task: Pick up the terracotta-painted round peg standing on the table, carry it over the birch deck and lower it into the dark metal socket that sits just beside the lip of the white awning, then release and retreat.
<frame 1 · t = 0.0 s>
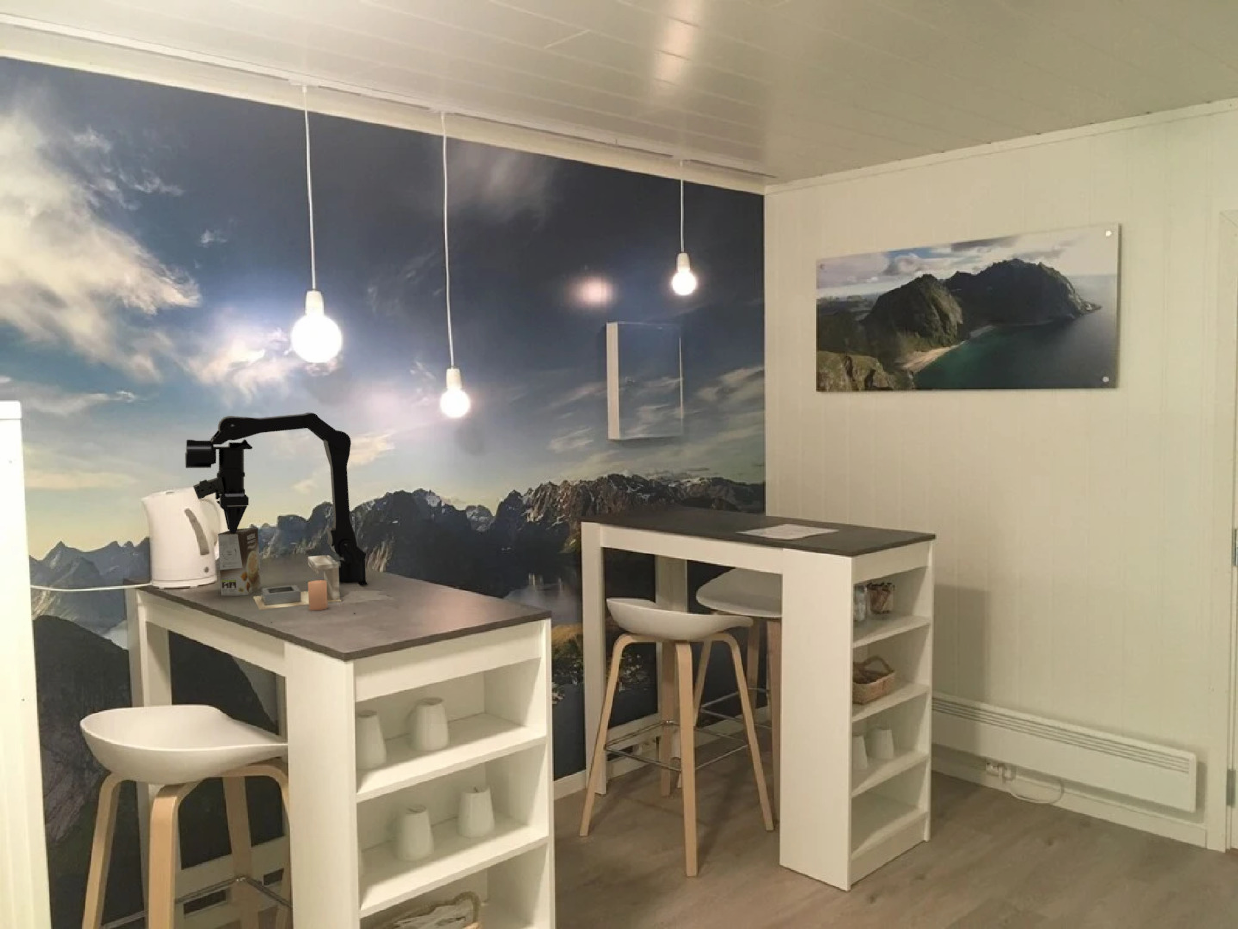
hand: (231, 531, 238), 16 cm above the table, tool pointing down, fingers closed on coffee box, 7 cm apart
peg: (318, 612, 221), on the table
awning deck: (296, 602, 231), on the table
socket: (281, 600, 230), resting on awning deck
coffee box: (241, 596, 240), on the table, touching gripper
when the fingers open (16 cm above the table, at t = 0.3 s): coffee box moves 3 cm, resting on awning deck.
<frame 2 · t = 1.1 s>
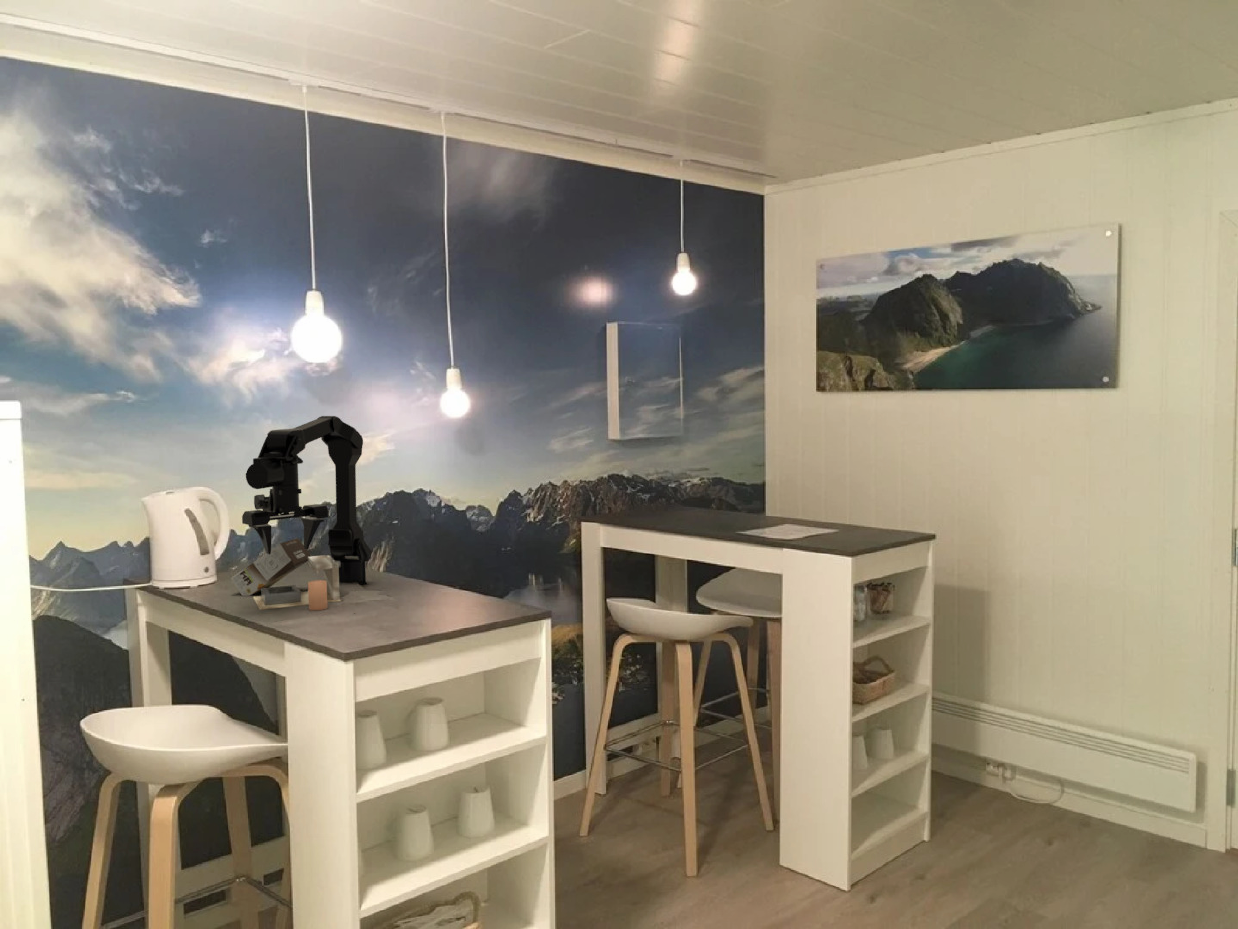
hand: (287, 551, 226), 13 cm above the table, tool pointing down, fingers open, 9 cm apart
coffee box: (246, 585, 240), point 2 cm above the table, touching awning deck
everything else where it was.
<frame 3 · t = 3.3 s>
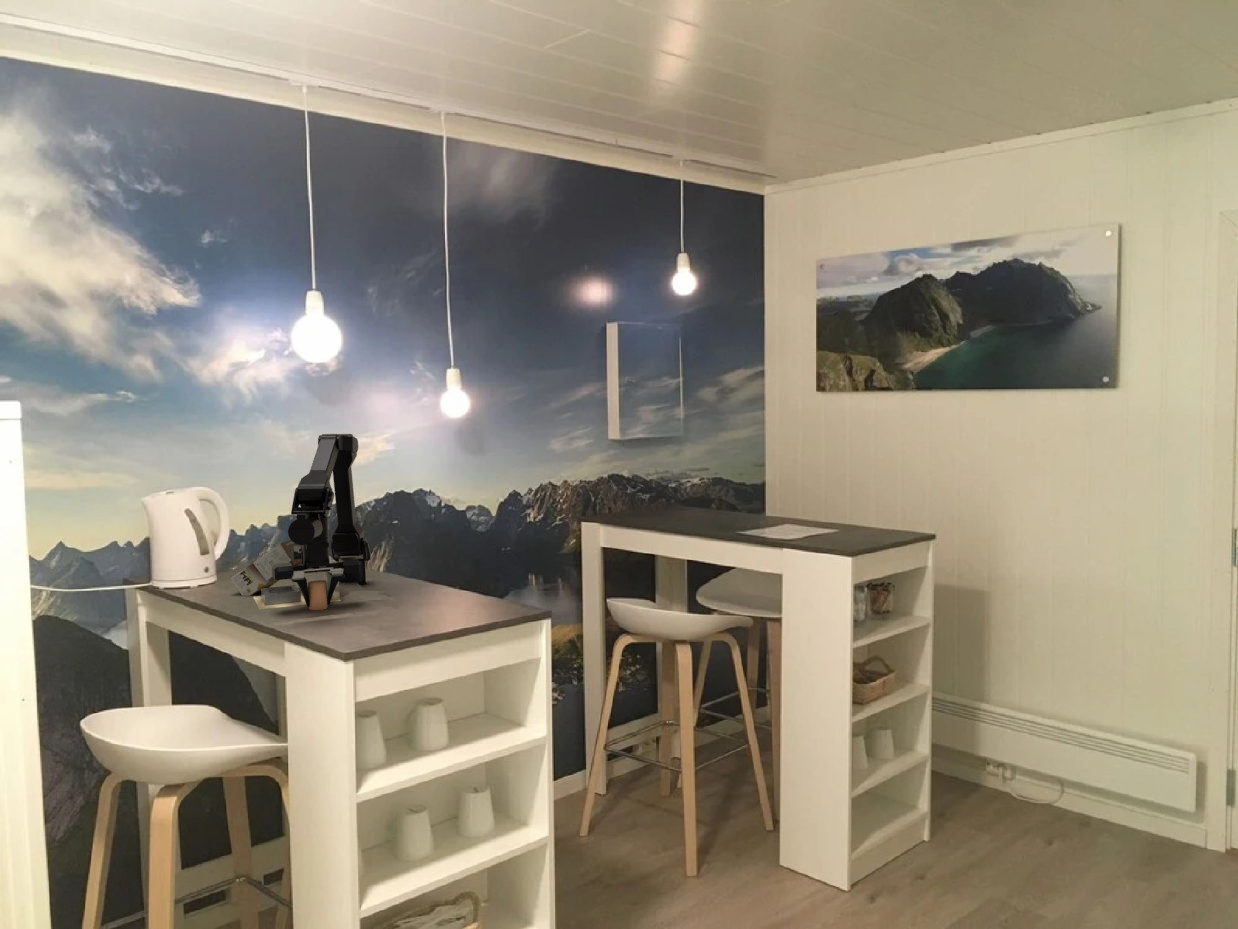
hand: (318, 605, 221), 2 cm above the table, tool pointing down, fingers closed on peg, 4 cm apart
peg: (318, 612, 221), on the table, touching gripper
everything else where it was.
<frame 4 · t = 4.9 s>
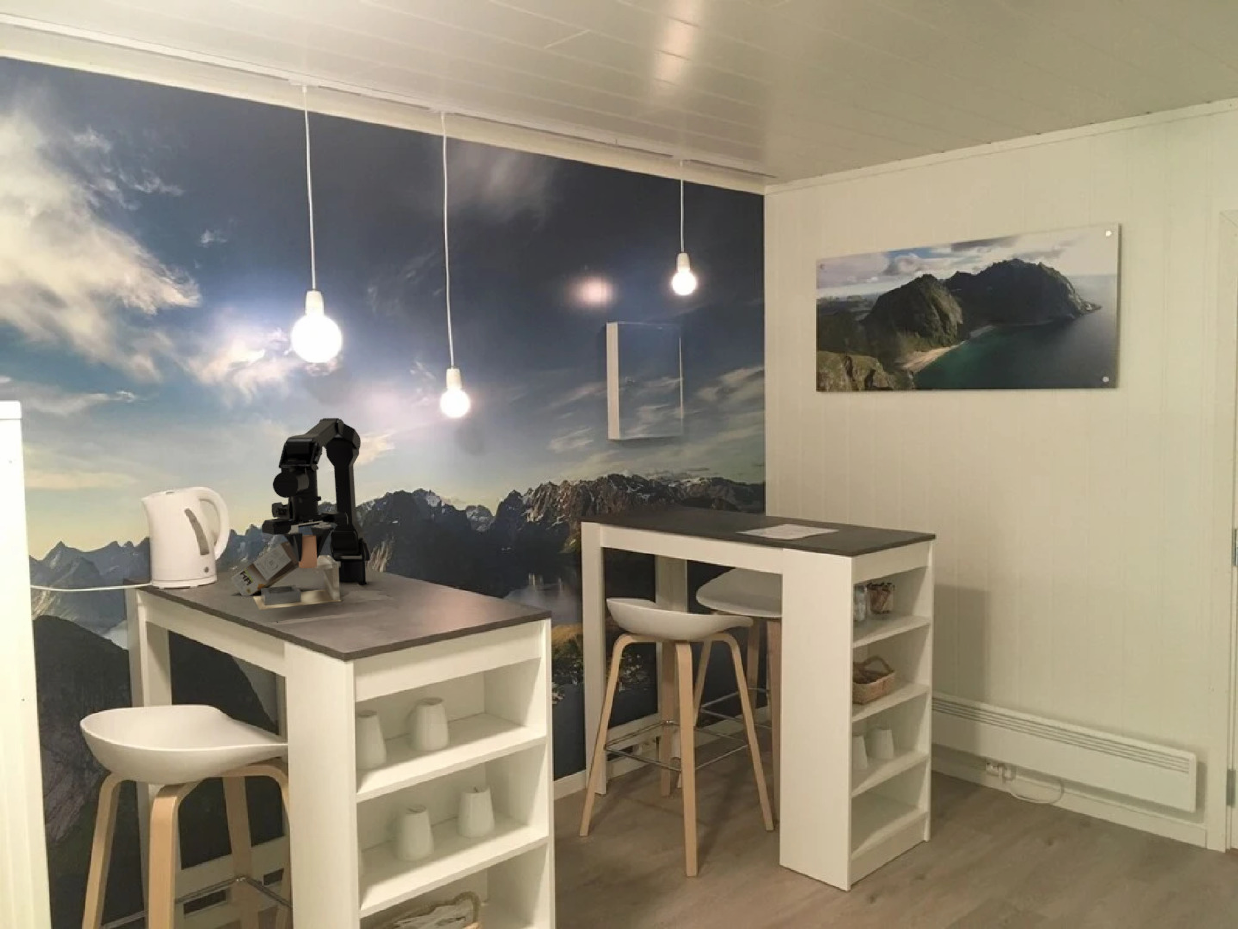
hand: (307, 559, 223), 12 cm above the table, tool pointing down, fingers closed on peg, 4 cm apart
peg: (308, 566, 223), point 10 cm above the table, touching gripper
everything else where it was.
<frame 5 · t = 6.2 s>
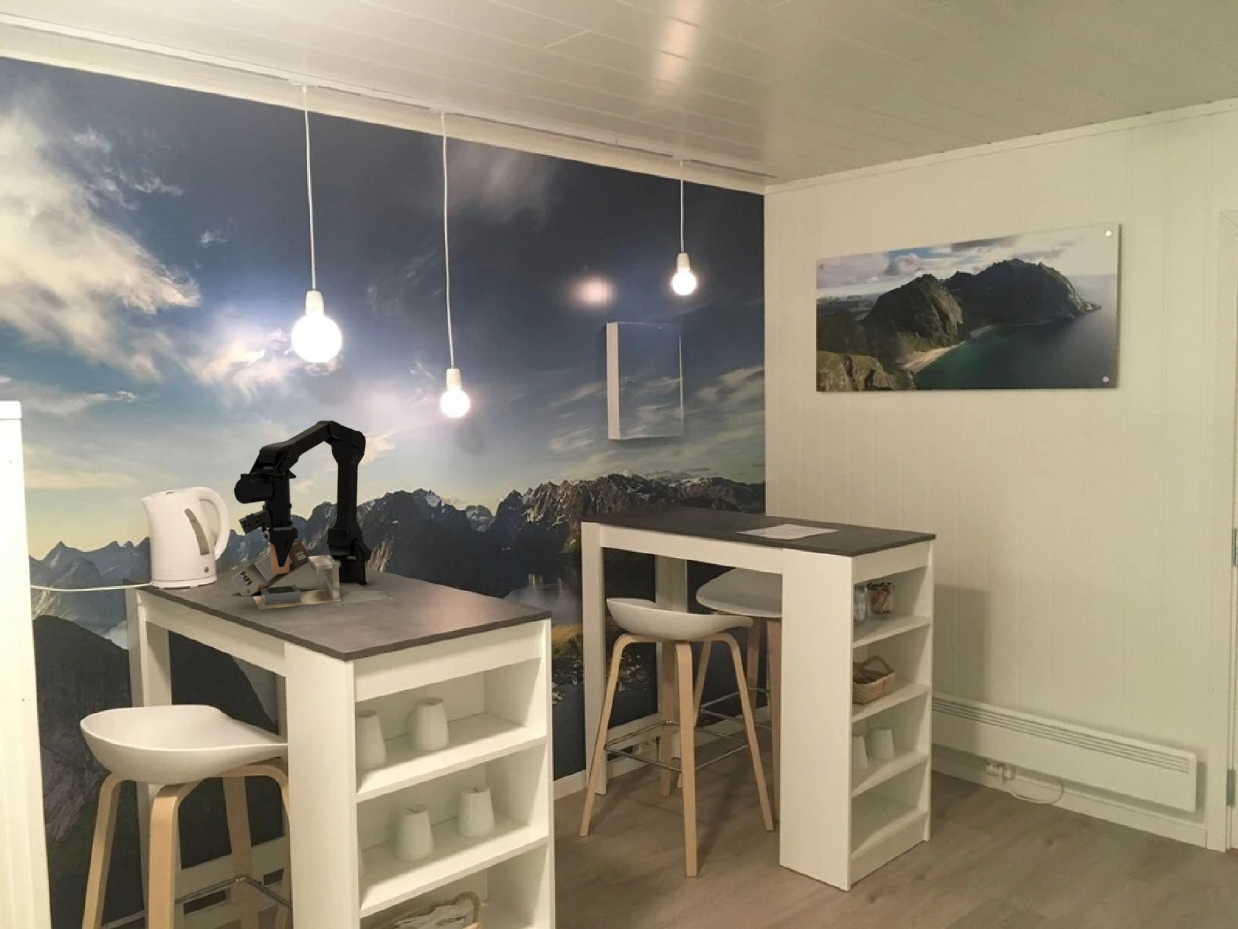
hand: (280, 565, 229), 9 cm above the table, tool pointing down, fingers closed on peg, 4 cm apart
peg: (280, 572, 229), point 8 cm above the table, touching gripper
coffee box: (245, 585, 240), point 2 cm above the table, touching gripper
when the fingers open (4 cm above the table, at t = 7.3 s): peg stays where it is, point 2 cm above the table.
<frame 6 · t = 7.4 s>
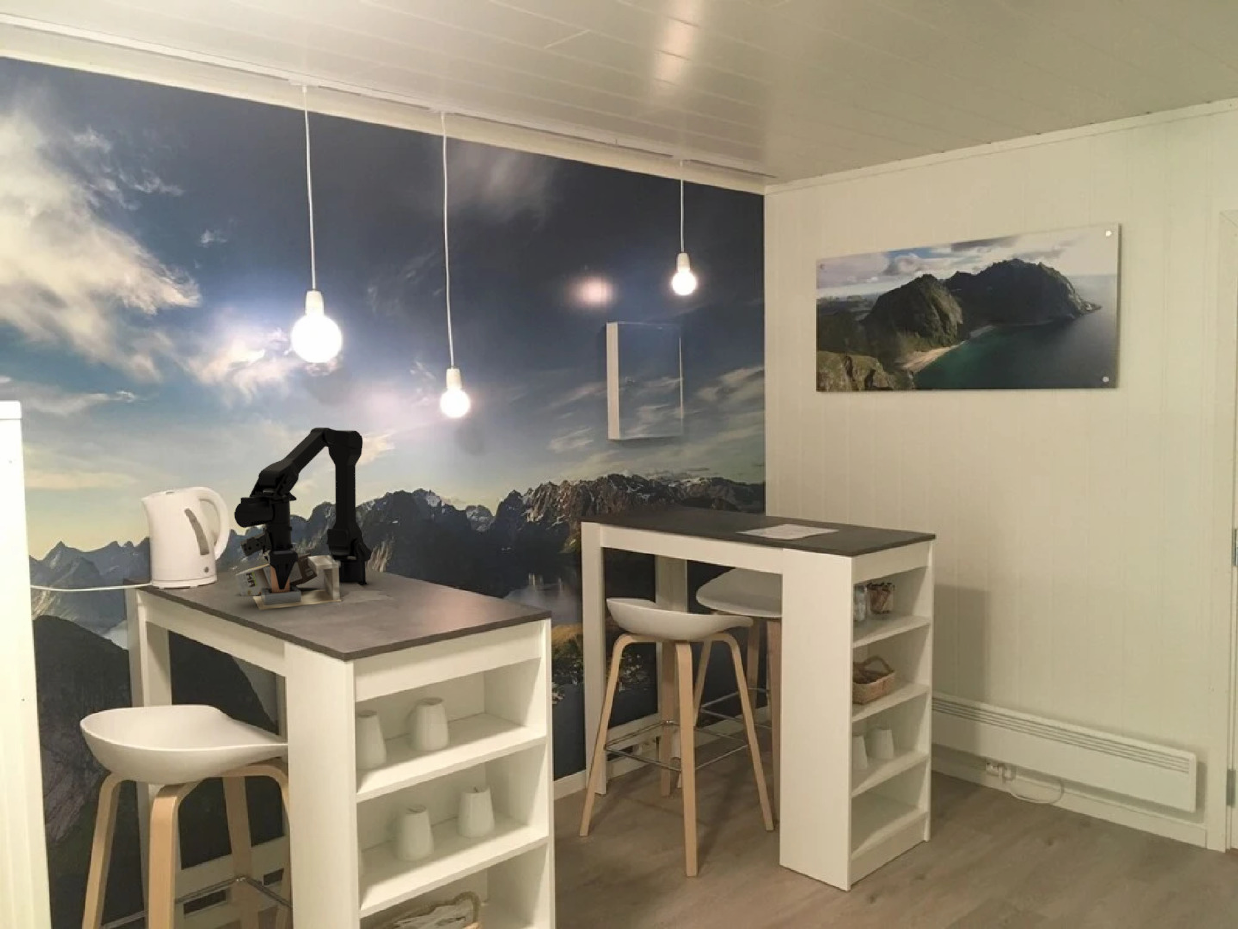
hand: (280, 587, 229), 4 cm above the table, tool pointing down, fingers open, 4 cm apart
peg: (280, 594, 230), point 2 cm above the table
coffee box: (245, 583, 240), point 3 cm above the table
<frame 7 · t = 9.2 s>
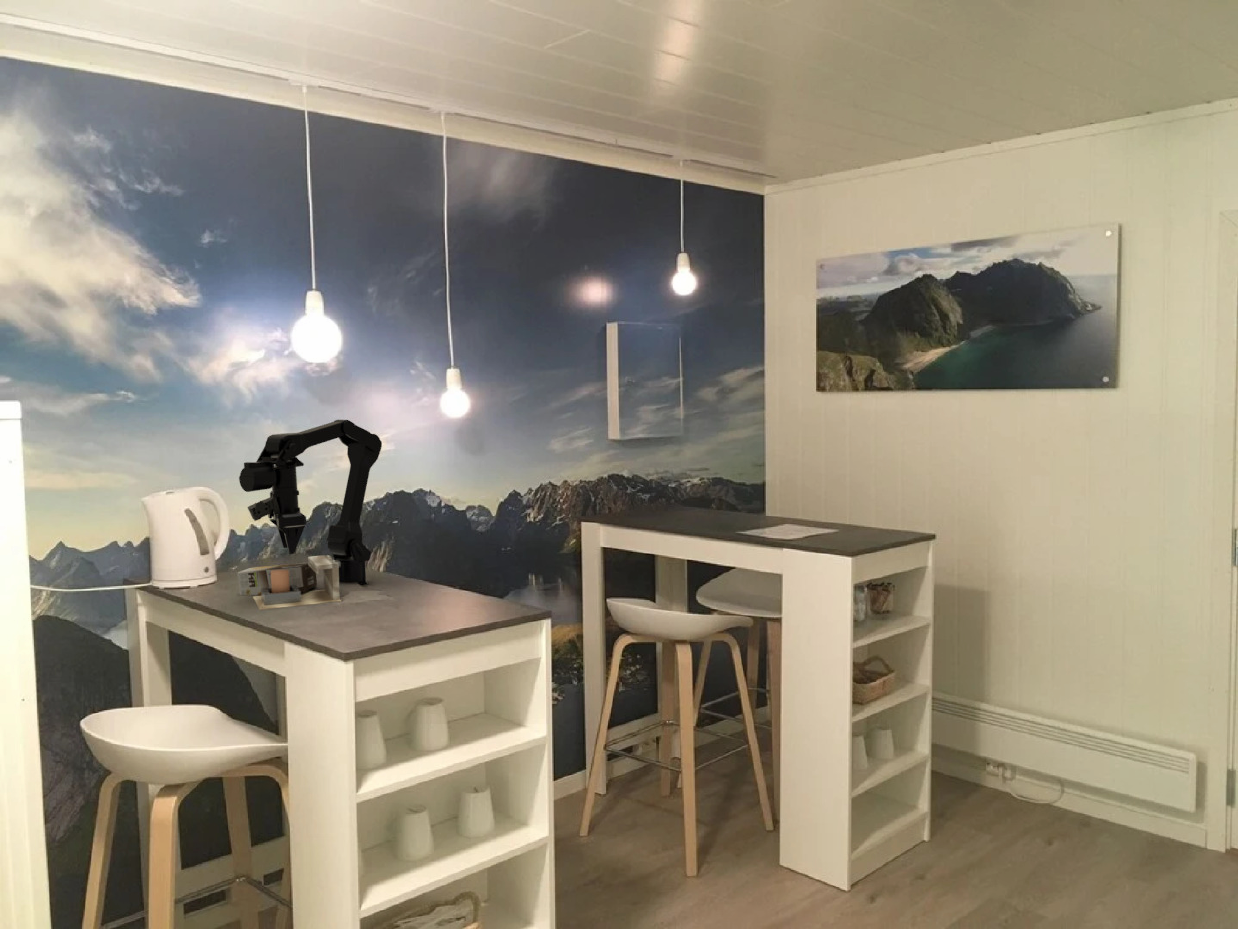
hand: (288, 550, 236), 12 cm above the table, tool pointing down, fingers open, 9 cm apart
peg: (281, 600, 230), point 1 cm above the table, touching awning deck
coffee box: (245, 582, 240), point 3 cm above the table, touching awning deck
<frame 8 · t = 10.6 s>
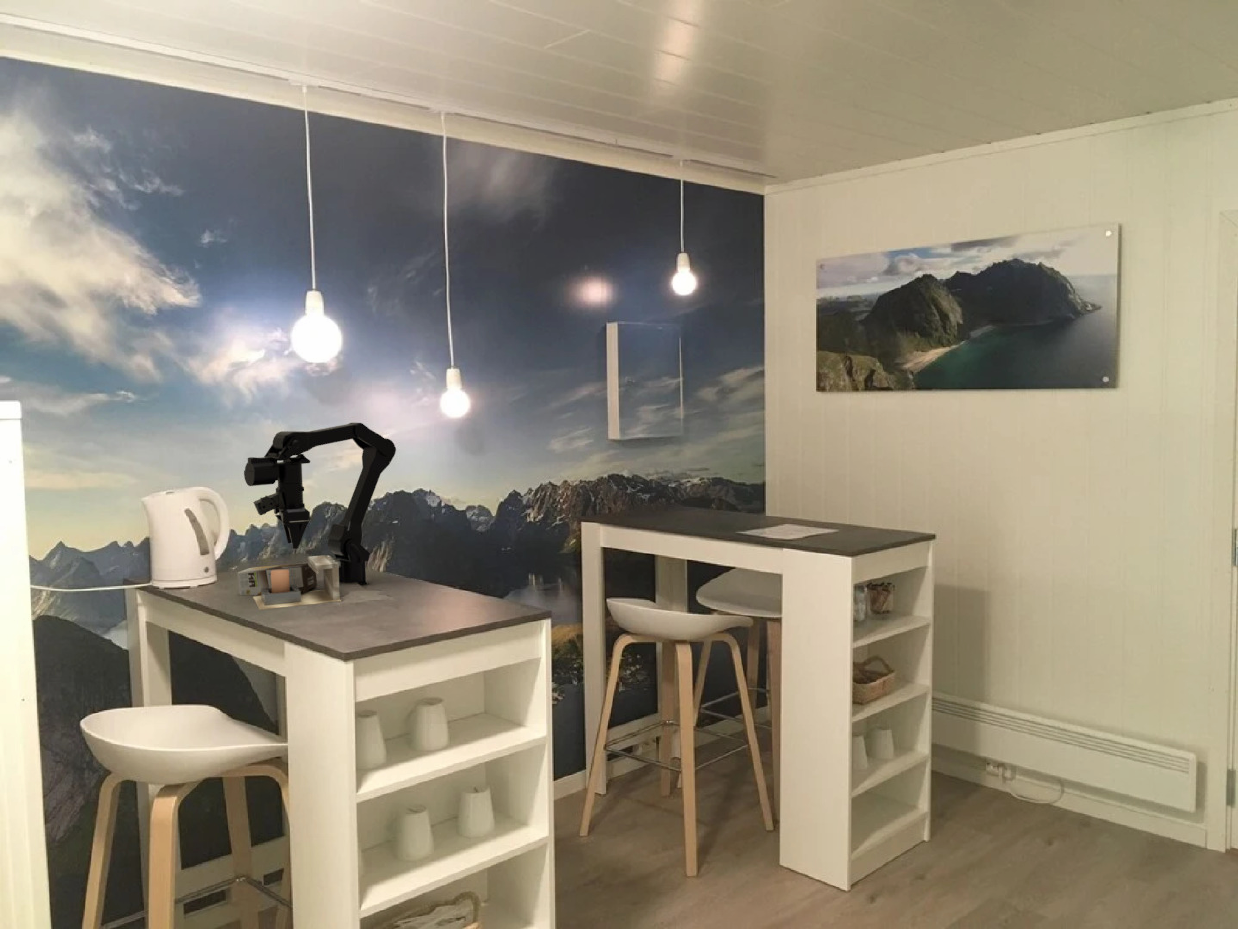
hand: (292, 545, 240), 12 cm above the table, tool pointing down, fingers open, 9 cm apart
nothing on the table moved.
at the end: peg 0.1 cm off-centre on the socket, point 0.0 cm above the socket's base; peg tilted 1°; the gripper is holding nothing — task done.
